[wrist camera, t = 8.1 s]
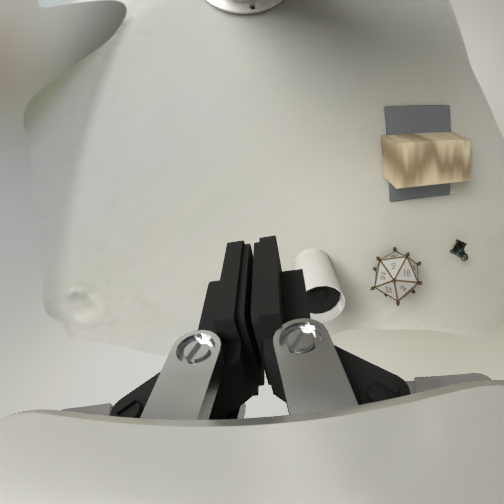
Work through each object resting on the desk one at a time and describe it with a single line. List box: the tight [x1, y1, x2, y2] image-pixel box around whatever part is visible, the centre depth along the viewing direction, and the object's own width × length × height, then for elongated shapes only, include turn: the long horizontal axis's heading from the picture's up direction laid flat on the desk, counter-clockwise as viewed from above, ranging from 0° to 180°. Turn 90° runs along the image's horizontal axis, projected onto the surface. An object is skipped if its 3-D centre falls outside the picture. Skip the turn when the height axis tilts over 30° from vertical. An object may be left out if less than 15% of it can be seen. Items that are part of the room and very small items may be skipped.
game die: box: [370, 247, 422, 306], centre depth 46 cm, size 9×8×10 cm
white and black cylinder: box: [294, 248, 345, 323], centre depth 46 cm, size 7×7×10 cm
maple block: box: [381, 132, 471, 189], centre depth 38 cm, size 6×5×12 cm
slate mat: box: [384, 105, 451, 202], centre depth 40 cm, size 14×11×1 cm
